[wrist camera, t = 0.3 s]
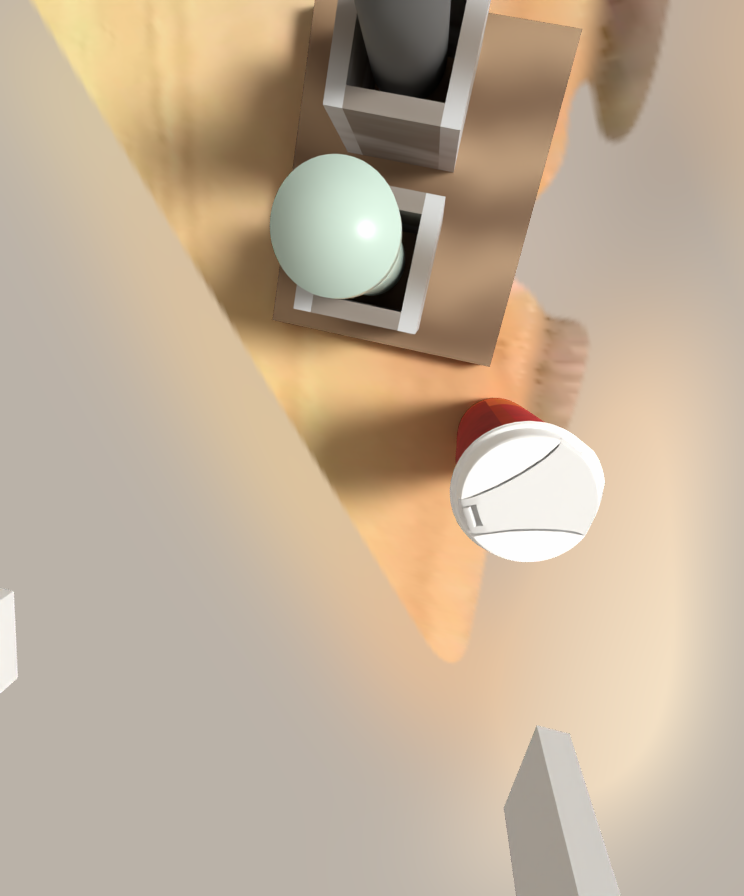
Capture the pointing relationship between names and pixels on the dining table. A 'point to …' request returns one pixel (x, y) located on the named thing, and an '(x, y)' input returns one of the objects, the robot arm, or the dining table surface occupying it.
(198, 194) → the dining table surface
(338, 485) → the dining table surface
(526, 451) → the paper cup
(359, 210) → the sage plug
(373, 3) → the gray plug
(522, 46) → the socket board
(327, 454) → the dining table surface
